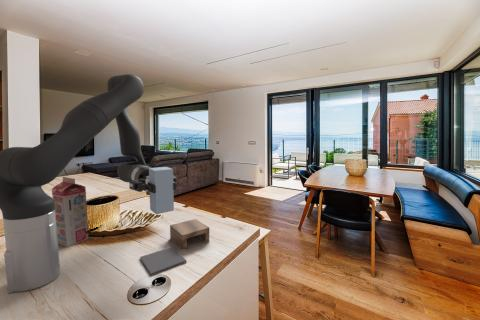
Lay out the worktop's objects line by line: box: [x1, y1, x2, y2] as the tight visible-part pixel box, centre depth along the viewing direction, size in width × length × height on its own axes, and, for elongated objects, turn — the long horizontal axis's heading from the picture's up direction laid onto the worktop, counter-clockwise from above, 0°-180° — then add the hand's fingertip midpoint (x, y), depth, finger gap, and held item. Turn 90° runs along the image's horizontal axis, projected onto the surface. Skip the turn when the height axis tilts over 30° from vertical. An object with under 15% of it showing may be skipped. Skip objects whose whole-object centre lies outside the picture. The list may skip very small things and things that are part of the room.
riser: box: [169, 218, 210, 251], centre depth 77 cm, size 10×10×5 cm
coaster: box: [139, 246, 187, 276], centre depth 65 cm, size 10×10×1 cm
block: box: [149, 166, 175, 215], centre depth 62 cm, size 5×5×12 cm
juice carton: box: [51, 176, 89, 248], centre depth 75 cm, size 7×7×22 cm
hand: (164, 187), depth 60 cm, fingers closed on block, 5 cm apart
